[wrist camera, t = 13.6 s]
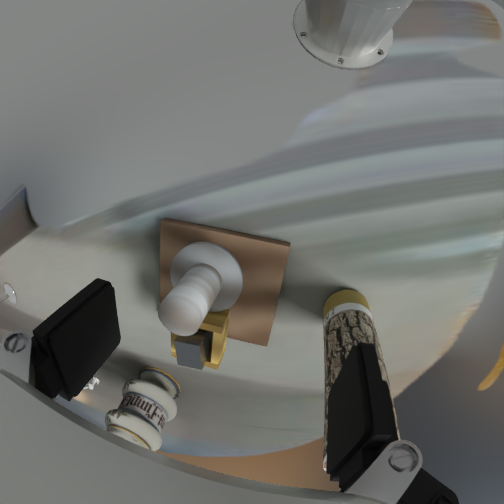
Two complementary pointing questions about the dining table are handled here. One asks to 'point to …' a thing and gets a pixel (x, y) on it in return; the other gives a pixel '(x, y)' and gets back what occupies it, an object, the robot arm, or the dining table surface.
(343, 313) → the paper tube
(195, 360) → the grey rectangular bar
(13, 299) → the wineglass
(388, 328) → the dining table surface
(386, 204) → the dining table surface
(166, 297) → the board
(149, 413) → the apothecary jar
